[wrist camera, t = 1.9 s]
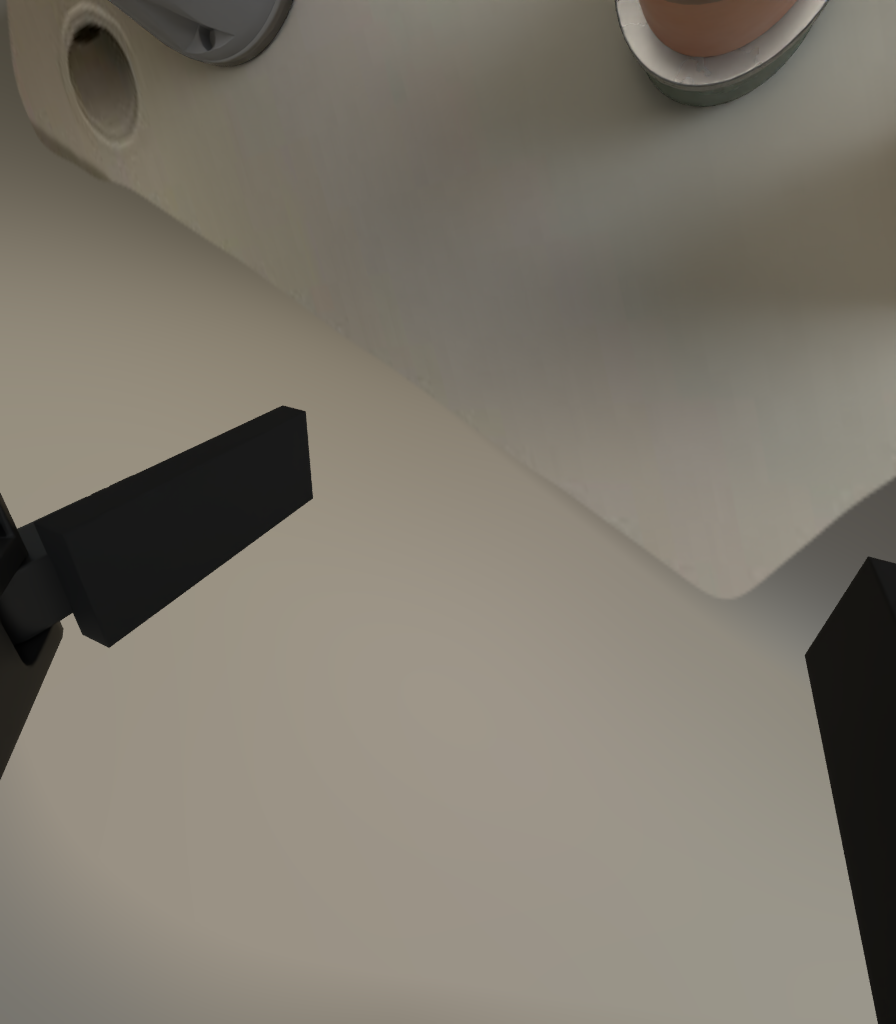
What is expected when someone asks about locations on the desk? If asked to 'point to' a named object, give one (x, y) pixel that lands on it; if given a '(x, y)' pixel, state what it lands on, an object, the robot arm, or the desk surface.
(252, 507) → the robot arm
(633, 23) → the green tin
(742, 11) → the copper tin
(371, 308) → the desk surface
